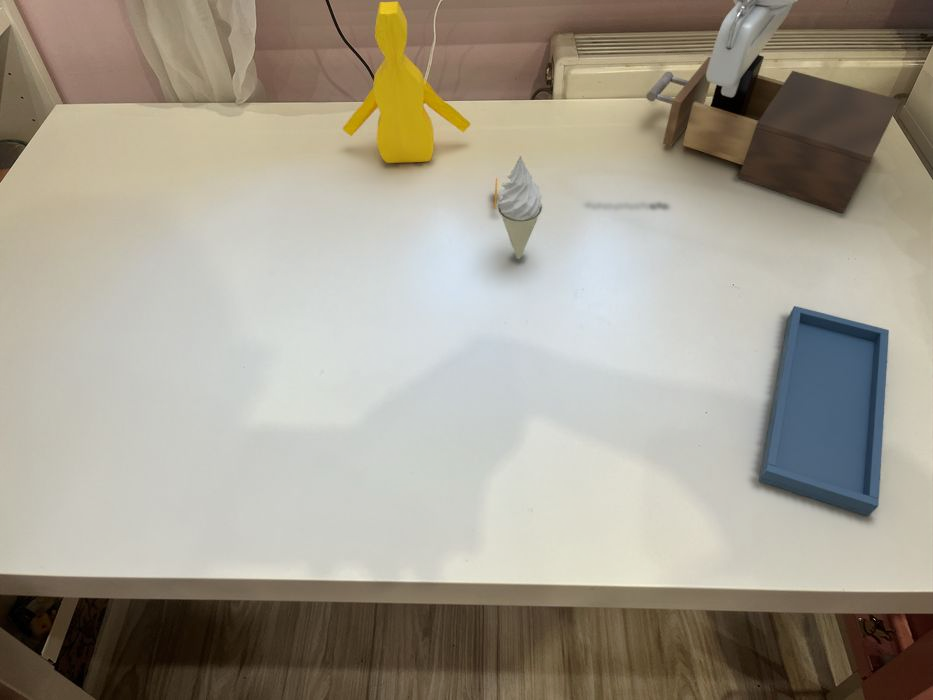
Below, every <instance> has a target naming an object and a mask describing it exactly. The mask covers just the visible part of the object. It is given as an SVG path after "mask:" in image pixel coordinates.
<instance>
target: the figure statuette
mask: <svg viewBox="0 0 933 700" xmlns="http://www.w3.org/2000/svg"><path fill="white" fill-rule="evenodd" d="M374 37H375V41H376V44H377V46H378V47H379V50H380V51H381V53H382V54H383V56H384V59H383V61H382V62H381V64H380V66H379V67H378V69H376V72H375V74H374V76H373V86H372V89H371V90H370V92H369V93H368V95H367V96H366V98H365V99H364V100H363V102H362V104H361V105H360V106H359V107H358V108H357V109H356V110H355V111H354V112H353V114H352V115H351V117H350V118H349V119H348V120H347V122H345V125H344V126H343V127H342V130H343V132H345V133H346V134H347V135H348V136H350V137H353V135H355V133H356V132H357V131H358V130H359V129H360V128H361V126H363V124H364V123H366V121H367V120H368V119H369V117H370V116H372V114H373V113H374V112H375V111H376V110H377V109H378V111H379V113H380V114H379V116H378V121H377V130H376V143H377V144H376V145H377V148H378V152H379V154H380V157H381V159H382V160H383V161H384V162H385V163H387V164H400V163H423V162H429V161H431V160H432V158H433V154H434V147H435V146H434V142H435V140H434V139H435V134H434V133H435V132H434V126H433V123H432V120H431V117H430V115H429V113H428V112H427V110H426V108H425V106H424V105H425V104H426V105H427V107H428V108H430V109H431V110H432V111H434V112H435V113H437V114H438V115H439V116H440V117H442V118H443V119H444V120H446V121H447V122H448V123H450V124H451V125H453V126H454V127H455V128H456V129H458V130H459V131H461V132H462V133H465V132H466V131H467V129H468V128H470V126H471V122H470V120H467V118H466V117H464V116H463V115H462V114H461V113H460V112H459V111H458V110H457V109H456V108H454V107H453V106H452V105H451V104H449V103H448V102H446V101H444V100H443V98H441V96H439V95H438V94H437V93H436V91H435V90H434V89H433V87H432V86H431V84H429V82H428V81H426V80H425V77H424V75H423V73H422V71H421V70H420V69H419V67H417V66H416V65H415V64H414V63H413V61H411V60H410V58H409V57H408V56H407V55H406V53H405V49H406V46H407V42H408V41H407V40H408V21H407V18H406V15H405V14H404V12H403V10H402V7H401V5H400V3H399V1H397V0H396V1H380V2H379V5H378V9H377V14H376V19H375V29H374Z"/></svg>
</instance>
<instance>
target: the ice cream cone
mask: <svg viewBox="0 0 933 700" xmlns="http://www.w3.org/2000/svg"><path fill="white" fill-rule="evenodd" d="M507 179H508V180H509V179H510V181H509V182H504V183H502V184H501V187H503V190H497V195H500V196H502V198H501V199H499V200H498V199H497V200H496V203H497V211H498V213H499V214H500V216H501V219H502V222H503V224H504V227H505V230H506V232H507V235H508V238H509V241H510V244H511V247H512V249H513V252H514V256H515V257H516V260H521V258H522V256H523V254H524V251H525V249H526V247H527V244H528V242H529V240H530V238H531V235H532V233H533V230H534V228H535V226H536V224H537V222H538V221H537V220H538V219H539V216H540V215H541V214H542V212H543V202H542V201H541V200H542V193H541V191H540V188H539V185H538V184H537V183H536V182H534V181H533V176H532V174H531V173H530V171H529V170H528V168H527V166H526V164H525V162H524V160H523V157H522V156H521V155H520V156H519V157H518V160H517V161H516V164H515V165H514V167H513V169H512V170H511V171H510V173H509V175H507Z"/></svg>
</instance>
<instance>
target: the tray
mask: <svg viewBox="0 0 933 700" xmlns="http://www.w3.org/2000/svg"><path fill="white" fill-rule="evenodd" d="M889 333H890V331H889V329H886V328H883V327H878V326H875V325H870V324H868V323H863V322H860V321H856V320H855V321H854V320H851V319H847V318H843V317H839V316H836V315H832V314H828V313H823V312H821V311H820V312H819V311H816V310H813V309H808V308H805V307H802V306H801V307H800V306H797V305H793V307H792V309H791V311H790V313H789V314H788V317H787V319H786V326H785V332H784V337H783V343H782V349H781V354H780V361H779V366H778V372H777V377H776V382H775V387H774V388H775V389H774V395H773V400H772V406H771V412H770V417H769V423H768V428H767V434H766V440H765V445H764V450H763V451H764V452H763V457H762V463H761V468H760V474H759V480H758V481H759V482H761V483H764V484H768V485H770V486H774V487H777V488H780V489H783V490H786V491H789V492H791V493H795V494H798V495H802V496H805V497H808V498H811V499H814V500H817V501H820V502H823V503H827V504H829V505H833V506H835V507H839V508H841V509H845V510H848V511H850V512H854V513H857V514H860V515H863V516H866V517H869V516H870V515H871V514H872V513H873V512H874V511H875V510H876V509H877V508H878V507H879V499H880V485H881V468H882V453H883V438H884V437H883V435H884V421H885V420H884V419H885V418H884V417H885V402H886V388H887V387H886V384H887V370H888V369H887V368H888V351H889V335H890V334H889Z"/></svg>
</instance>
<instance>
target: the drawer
mask: <svg viewBox="0 0 933 700" xmlns="http://www.w3.org/2000/svg"><path fill="white" fill-rule="evenodd" d="M710 58H711V56H708V57H707V58H706V59H705V60H704V62H703V63H702V64H701V65H700V67H699V68H698V69H696V71H695V72H694V74H693V75H692V76H691V77H690V79H689V80H686V79H684V78H679V77H676V76H674V74H673V73H672V72H671V71H666V72H664V74H663V75H662V76H661V77H660V78H659V79H658V80H657V81H656V83H655V84H654V85H653V86H652V87H651V88H650V90H649V91H648V92H647V94H646V99H647V100H648V101H649V102H654V101H656V100H657V101H660V102H662V103H666V104H670V105H671V107H670V110H669V115H668V119H667V123H666V128H665V132H664V136H663V142H662V144H663V145H665V146H668V147H672V146H673V145H674V143H675V142H676V140H678V138H679V137H680V135H681V134H682V133H683V132H684V130H685V133H684V137H683V141H682V146H684V147H686V148H690V149H693V150H696V151H699V152H702V153H705V154H708V155H711V156H714V157H717V158H720V159H723V160H726V161H729V162H733V163H735V164H738V165H741V166H743V163H744V160H745V157H746V154H747V151H748V148H749V145H750V142H751V139H752V137H753V134H754V131H755V128H756V125H757V122H758V121H759V119H760V118H761V116H762V115H763V113H764V112H765V110H766V109H767V107H768V106H769V105H770V103H771V102H772V100H773V99H774V97H775V96H776V94H777V93H778V91H779V90H780V88H781V87H782V85H783V84H784V82H785V81H782V80H778V79H776V78H775V79H774V78H771V77H767V76H764V75H760V74H758V77H757V80H756V83H755V86H754V89H753V92H752V96H751V99H750V102H749V105H748V108H747V111H746V114H745V117H744V116H741V115H738V114H734V113H731V112H728V111H724V110H721V109H718V108H715V107H711V104H710V105H708V104H705V103H706V100H707V96H708V93H709V89H710V86H711V83H710V82H708V81H707V78H706V72H707V68H708V65H709V61H710ZM670 83H671V84H672V83H673V84H676V85H680V86H683V87H682V88H681V89H680V91H679V92H678V93H677V94H676V96H674V97H671V96H669V95H668V96H667V95H665V94H661V93H663V91H664V90H665V89H666V88H667V86H668V85H670Z"/></svg>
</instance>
